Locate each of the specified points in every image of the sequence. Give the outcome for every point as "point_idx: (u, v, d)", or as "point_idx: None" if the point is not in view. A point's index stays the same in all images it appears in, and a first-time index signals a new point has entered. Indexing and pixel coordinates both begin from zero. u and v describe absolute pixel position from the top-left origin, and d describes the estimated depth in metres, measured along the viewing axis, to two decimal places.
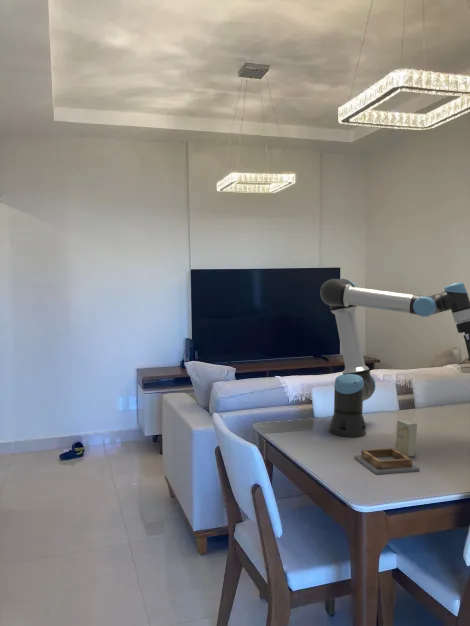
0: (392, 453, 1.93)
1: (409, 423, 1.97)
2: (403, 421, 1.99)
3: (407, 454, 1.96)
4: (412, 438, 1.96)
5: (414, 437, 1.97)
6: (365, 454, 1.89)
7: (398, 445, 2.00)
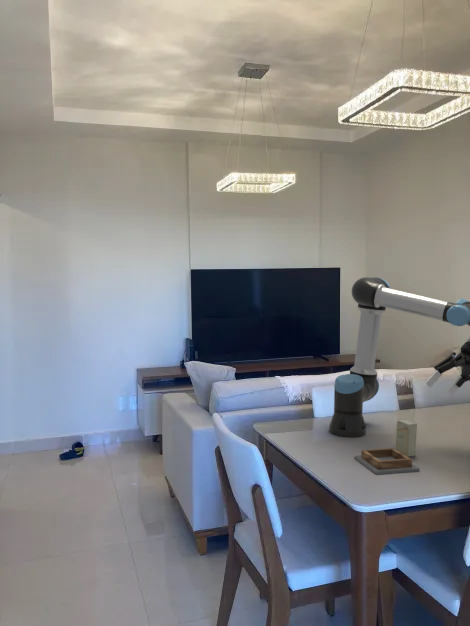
0: (392, 453, 1.93)
1: (409, 423, 1.97)
2: (403, 421, 1.99)
3: (407, 454, 1.96)
4: (412, 438, 1.96)
5: (414, 437, 1.97)
6: (365, 454, 1.89)
7: (398, 445, 2.00)
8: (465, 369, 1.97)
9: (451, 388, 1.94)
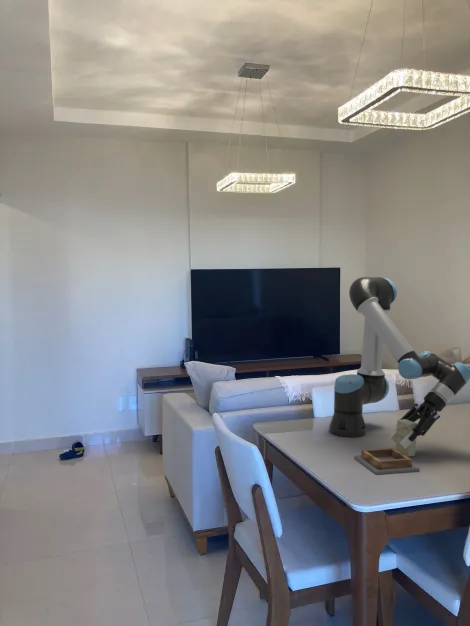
0: (392, 453, 1.93)
1: (409, 423, 1.97)
2: (403, 421, 1.99)
3: (407, 454, 1.96)
4: None
5: None
6: (365, 454, 1.89)
7: (398, 445, 2.00)
8: (421, 423, 1.96)
9: (404, 442, 1.95)
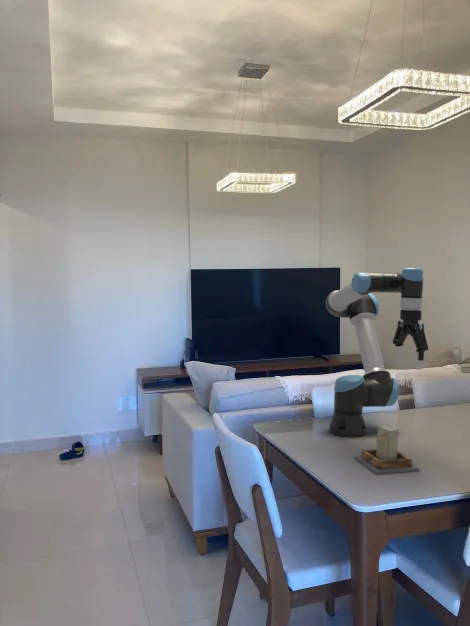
0: None
1: (390, 429, 1.85)
2: (384, 427, 1.87)
3: None
4: (393, 445, 1.84)
5: (395, 444, 1.85)
6: (365, 454, 1.89)
7: (378, 452, 1.88)
8: (416, 340, 1.96)
9: (417, 366, 1.96)
